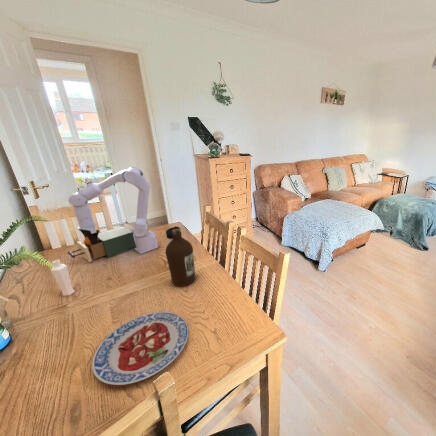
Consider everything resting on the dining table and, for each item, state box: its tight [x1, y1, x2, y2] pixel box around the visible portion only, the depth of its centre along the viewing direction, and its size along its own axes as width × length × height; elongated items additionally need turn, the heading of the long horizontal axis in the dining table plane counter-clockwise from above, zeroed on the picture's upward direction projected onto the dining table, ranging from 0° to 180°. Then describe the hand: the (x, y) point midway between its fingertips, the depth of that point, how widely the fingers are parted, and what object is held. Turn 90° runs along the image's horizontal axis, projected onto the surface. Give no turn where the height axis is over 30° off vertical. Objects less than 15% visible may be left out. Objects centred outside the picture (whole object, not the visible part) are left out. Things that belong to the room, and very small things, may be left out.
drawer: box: [67, 239, 107, 263], centre depth 119 cm, size 17×10×8 cm, turn 145°
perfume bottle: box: [50, 259, 76, 297], centre depth 94 cm, size 5×4×15 cm
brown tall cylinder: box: [165, 226, 182, 245], centre depth 113 cm, size 6×7×20 cm
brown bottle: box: [165, 228, 196, 288], centre depth 102 cm, size 11×11×25 cm
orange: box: [84, 237, 92, 245], centre depth 118 cm, size 5×5×5 cm
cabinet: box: [98, 226, 137, 259], centre depth 127 cm, size 14×12×10 cm
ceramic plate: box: [91, 311, 189, 386], centre depth 75 cm, size 26×26×3 cm
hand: (92, 242), depth 119 cm, fingers closed on orange, 5 cm apart
